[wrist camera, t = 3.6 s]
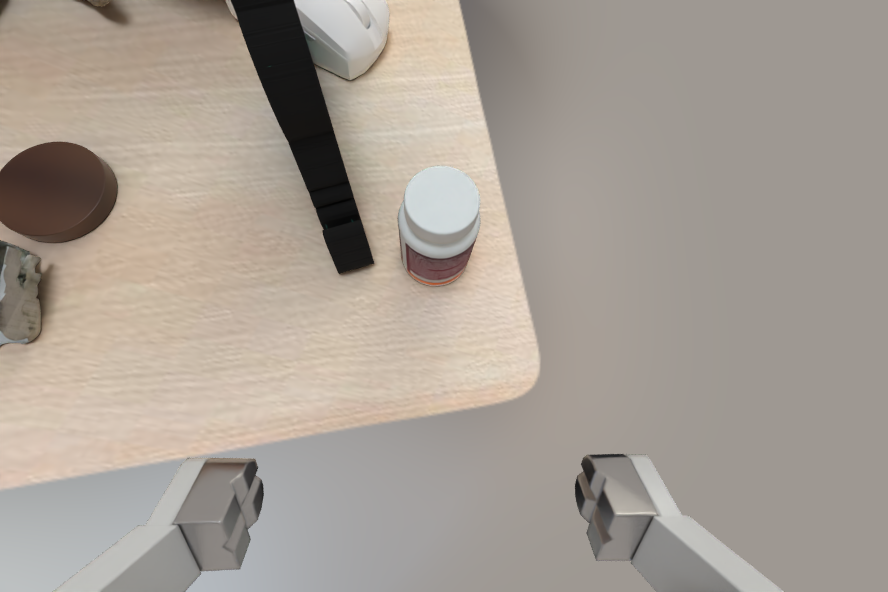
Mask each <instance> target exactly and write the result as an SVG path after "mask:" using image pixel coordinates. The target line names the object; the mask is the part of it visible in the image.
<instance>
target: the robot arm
mask: <svg viewBox="0 0 888 592" xmlns="http://www.w3.org/2000/svg"><path fill="white" fill-rule="evenodd" d="M581 465H582V468H583V472H582V473H581V474H579V475H578V476H577V479H576V484H575V497H576V502H577V506H578V509H579V512H580V514H581V516H582V517H583V518H584V519H585V520H586V521H587V522H589V523H590V524H589V527H588V530H587V535H588V538H589V541H590V544H591V547H592V550H593V552H594V555H595V558H596V560H597V561H631V564H632V565H633V566H634V567H635V568H636V569H637V570H638V571H639V573H641V575H642V576H643V577H644V578H645V579H646V580H647V582H648V583H649V584H650V585H651V586H652V587H653V588H654V590H655V591H656V592H784V591H783V590H781V589H780V588H779V587H778V586H776V585H775V584H774V583H772V582H771V581H770V580H769V579H767V578H766V577H765V576H763V575H762V574H761V573H760V572H759V571H757V570H756V569H755V568H754V567H752V566H751V565H750V564H748V563H747V562H746V561H745V560H743V559H742V558H741V557H740V556H738V555H737V554H736V553H735V552H733V551H732V550H731V549H730V548H728V547H727V546H726V545H725V544H723V543H722V542H721V541H719V540H718V539H717V538H716V537H715V536H713V535H712V534H711V533H709V532H708V531H707V530H706V529H704V528H703V527H702V526H701V525H699V524H698V523H697V522H695V521H694V520H693V519H692V518H691V517H689V516H682V514H681V513H680V511H679V509H678V507H677V506H676V504H675V502H674V500H673V499H672V497H671V495H670V493H669V492H668V490H667V488H666V486H665V485H664V483H663V481H662V479H661V477H660V476H659V474H658V472H657V470H656V469H655V467H654V465H653V464H652V462H651V460H650V458H649V457H648V456H646V455H644V454H631V455H630V454H629V455H624V454H605V455H604V454H603V455H586V456H585V457H584V458H583V460H582V463H581ZM257 469H258V466H257V463H256V460H255V459H242V458H241V459H240V458H187V459H186V460H185V461H184V462H183V463H182V464H181V465H180V467H179V469H178V470H177V472H176V474H175V476H174V477H173V479H172V481H171V482H170V484H169V486H168V487H167V489H166V491H165V492H164V494H163V496H162V498H161V499H160V501H159V503H158V504H157V506H156V508H155V509H154V511H153V513H152V514H151V516H150V518H149V520H148V522H147V523H146V525H139V526H137V527H136V528H134V529H133V530H132V531H130V532H129V533H128V534H127V535H125V536H124V537H123V538H121V539H120V540H119V541H118V542H116V543H115V544H114V545H112V546H111V547H110V548H109V549H107V550H106V551H105V552H103V553H102V554H101V555H99V556H98V557H97V558H95V559H94V560H93V561H91V562H90V563H89V564H88V565H86V566H85V567H84V568H82V569H81V570H80V571H79V572H77V573H76V574H75V575H73V576H72V577H71V578H69V579H68V580H67V581H66V582H64V583H63V584H62V585H60V586H59V587H58V588H57V589H55V590H54V591H53V592H185V591H186V590H187V589H188V588H189V586H191V584H192V583H193V582H194V581H195V580H196V579H197V578H198V577H199V576H200V575H201V572H200V571H216V570H234V569H240V567H241V565H242V562H243V559H244V557H245V553H246V551H247V548H248V545H249V543H250V536H249V533H248V529H249V528H250V527H251V526H252V525H253V524H254V523H255V522H256V521H257V520H258V517H259V514H260V511H261V508H262V501H263V496H264V493H263V483H262V480H261V479H260V478H259V477H257V476H256V475H255V474H256V472H257Z"/></svg>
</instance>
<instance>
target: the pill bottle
mask: <svg viewBox="0 0 888 592" xmlns="http://www.w3.org/2000/svg"><path fill="white" fill-rule="evenodd" d="M479 208H480V195H479V192H478V189H477V187H476V185H475V183H474V182H473V180H472V179H471V178H470V177H469V176H468V175H467V174H465V173H464V172H462V171H460V170H458V169H456V168H453V167H449V166H433V167H429V168H426V169H424V170H422V171H420V172H419V173H417V174H416V175H415V176H414V177H413V178H412V179H411V180H410V182H409V183H408V185H407V187H406V190H405V194H404V201H403V202H402V204H401V207H400V209H399V213H398V227H399V236H400V246H401V256H402V262H403V265H404V267H405V269H406V271H407V272H408V273H409V275H410V276H411V277H412V278H414V279H415V280H417V281H418V282H420V283H422V284H425V285H429V286H441V285H445V284H448V283H451V282H453V281H454V280H456V279H457V278H458V277H459V276H460V275H461V274H462V273H463V271H464V270H465V267H466V265H467V262H468V260H469V257H470V255H471V252H472V249H473V246H474V243H475V241H476V238H477V235H478V232H479V228H480V213H479Z"/></svg>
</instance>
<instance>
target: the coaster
mask: <svg viewBox="0 0 888 592" xmlns="http://www.w3.org/2000/svg"><path fill="white" fill-rule="evenodd" d="M116 195H117V183H116V179H115V176H114V173H113V172H112V170H111V168H110V167H109V166H108V165H107V164H106V163H105V162H104V161H103V160H101V159H100V158H99V157H98V156H96V155H95V154H94V153H93V152H91V151H90V150H88V149H87V148H84V147H82V146H80V145H77V144H73V143H68V142H50V143H44V144H40V145H37V146H34V147H31V148H29V149H27V150H25V151H23V152H21V153H19V154H18V155H17V156H15V157H14V158H12V159H11V160H10V161H9V162H8V163H7V164H6V165H5V166H4V167H3V169H2V170H1V171H0V221H1V222H2V223H3V224H4V225H5V226H6V227H8V228H9V229H11V230H13V231H15V232H17V233H19V234H22V235H24V236H26V237H28V238H31V239H34V240H37V241H41V242H50V243H55V242H64V241H69V240H73V239H76V238H78V237H81V236H83V235H85V234H87V233H89V232H90V231H92V230H93V229H95V228H96V227H97V226H98V225H100V224H101V223H102V222H103V220H104V219H105V218H106V217H107V216H108V214H109V213H110V211H111V209H112V208H113V205H114V203H115V200H116Z"/></svg>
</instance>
